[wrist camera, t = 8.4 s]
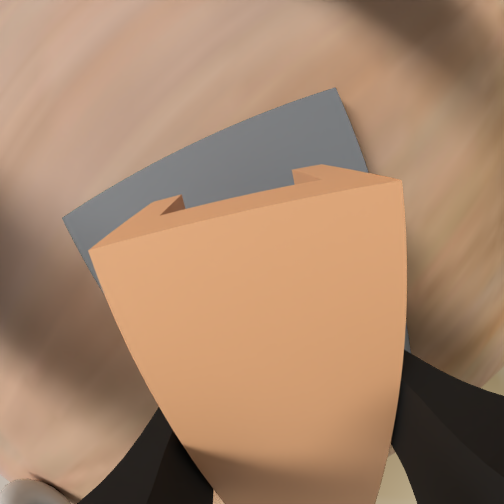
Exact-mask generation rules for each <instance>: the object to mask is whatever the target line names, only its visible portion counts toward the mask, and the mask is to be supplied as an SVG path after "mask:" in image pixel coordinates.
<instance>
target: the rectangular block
mask: <svg viewBox="0 0 504 504" xmlns="http://www.w3.org/2000/svg"><path fill="white" fill-rule="evenodd" d="M292 173H293V179H294V184H295V185H290V186H285V187H280V188H276V189H271V190H266V191H261V192H257V193H252V194H248V195H243V196H239V197H234V198H230V199H225V200H221V201H217V202H213V203H208V204H204V205H200V206H196V207H192V208H188V209H185V205H184V201H183V197H182V194H181V195H177V196H173V197H170V198H166V199H162V200H158V201H155V202H152V203H150V204H149V205H148V206H146V207H145V208H143V209H142V210H141V211H139V212H138V213H137V214H135V215H134V216H132V217H131V218H130V219H128V220H127V221H126V222H124V223H123V224H122V225H120V226H119V227H118V228H116V229H115V230H114V231H112V232H111V233H110V234H108V235H107V236H106V237H104V238H103V239H102V240H101V241H99V242H98V243H97V244H96V245H94V246H93V247H92V248H90V249H89V250H88V252H89V255H90V257H91V260H92V263H93V266H94V269H95V271H96V274H97V277H98V279H99V282H100V284H101V287H102V290H103V292H104V295H105V297H106V299H107V302H108V304H109V307H110V309H111V311H112V314H113V316H114V318H115V321H116V323H117V325H118V327H119V330H120V332H121V334H122V336H123V338H124V341H125V343H126V345H127V347H128V349H129V351H130V353H131V355H132V357H133V359H134V361H135V363H136V365H137V367H138V369H139V371H140V373H141V375H142V377H143V379H144V380H145V382H146V384H147V386H148V388H149V390H150V392H151V393H152V395H153V397H154V399H155V401H156V402H157V404H158V406H159V407H160V409H161V411H162V413H163V414H164V416H165V418H166V419H167V421H168V423H169V424H170V426H171V428H172V429H173V431H174V432H175V434H176V436H177V437H178V439H179V440H180V442H181V443H182V445H183V446H184V448H185V449H186V451H187V452H188V454H189V455H190V457H191V458H192V460H193V461H194V463H195V464H196V466H197V467H198V468H199V470H200V471H201V473H202V474H203V475H204V477H205V478H206V480H207V481H208V482H209V484H210V485H211V486H212V488H213V489H214V490H215V492H216V493H217V494H218V495H219V497H220V498H221V499H222V501H223V502H224V503H225V504H375V502H376V499H377V495H378V492H379V489H380V485H381V481H382V477H383V473H384V469H385V465H386V461H387V457H388V452H389V448H390V443H391V438H392V433H393V428H394V422H395V416H396V410H397V404H398V397H399V390H400V382H401V374H402V365H403V355H404V343H405V328H406V307H407V246H406V225H405V210H404V198H403V187H402V180H399V179H394V178H390V177H385V176H381V175H376V174H371V173H366V172H361V171H356V170H351V169H346V168H340V167H334V166H329V165H323V164H320V165H315V166H309V167H304V168H298V169H293V170H292Z"/></svg>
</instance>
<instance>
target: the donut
mask: <svg viewBox="0 0 504 504" xmlns="http://www.w3.org/2000/svg"><path fill="white" fill-rule="evenodd" d="M0 504H71V503H70V502H69V501H68V500H67V498H66V497H65V496H64V495H62V494H61V493H60V492H59V491H57V490H56V489H55V488H53V487H51V486H49V485H47V484H45V483H43V482H41V481H36V480H31V479H19V480H14V481H12V482H10V483H9V484H7V485H5V487H4V488H3V490H2V491H1V492H0Z"/></svg>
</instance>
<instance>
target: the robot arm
mask: <svg viewBox="0 0 504 504" xmlns="http://www.w3.org/2000/svg"><path fill="white" fill-rule="evenodd" d="M391 445H392V446H393V448H394V450H395V452H396V454H397V455H398V457H399V459H400V461H401V463H402V465H403V467H404V469H405V471H406V474H407V476H408V479H409V481H410V484H411V487H412V489H413V492H414V495H415V498H416V501H417V504H504V396H502V395H499V394H496V393H492V392H489V391H486V390H483V389H481V388H478V387H476V386H473V385H470V384H468V383H466V382H463V381H461V380H459V379H457V378H455V377H452V376H450V375H448V374H446V373H444V372H442V371H440V370H438V369H437V368H435V367H433V366H431V365H430V364H428V363H426V362H424V361H423V360H421V359H419V358H417V357H416V356H414V355H412V354H411V353H409V352H408V351H406V350H404V355H403V365H402V374H401V382H400V390H399V397H398V404H397V410H396V416H395V422H394V428H393V433H392V438H391ZM77 504H213V488H212V486H211V485H210V484H209V482H208V481H207V480H206V478H205V477H204V475H203V474H202V473H201V471H200V470H199V468H198V467H197V466H196V464H195V463H194V461H193V460H192V458H191V457H190V455H189V454H188V452H187V451H186V449H185V448H184V446H183V445H182V443H181V442H180V440H179V439H178V437H177V436H176V434H175V432H174V431H173V429H172V428H171V426H170V424H169V423H168V421H167V419H166V418H165V416H164V414H163V413H162V411H161V409H160V407H159V408H158V409H157V411H156V413H155V414H154V416H153V417H152V419H151V420H150V422H149V423H148V425H147V426H146V428H145V429H144V431H143V432H142V434H141V435H140V437H139V438H138V439H137V441H136V442H135V443H134V445H133V446H132V447H131V449H130V450H129V451H128V453H127V454H126V455H125V457H124V458H123V459H122V460H121V461H120V463H119V464H118V465H117V466H116V467H115V468H114V469H113V471H112V472H111V473H110V474H109V475H108V476H107V477H106V478H105V479H104V480H103V481H102V482H101V483H100V484H99V485H98V486H97V487H96V488H95V489H93V490H92V491H91V492H90V493H89V494H88V495H87V496H85V497H84V498H83V499H82V500H81V501H80V502H79V503H77Z"/></svg>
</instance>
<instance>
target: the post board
mask: <svg viewBox="0 0 504 504" xmlns="http://www.w3.org/2000/svg"><path fill="white" fill-rule="evenodd" d="M320 164H323V165H329V166H334V167H340V168H346V169H351V170H356V171H361V172H366V173H369V172H368V169H367V167H366V164H365V161H364V158H363V155H362V152H361V150H360V147H359V144H358V141H357V139H356V136H355V133H354V131H353V128H352V126H351V123H350V121H349V118H348V116H347V113H346V111H345V108H344V106H343V104H342V101H341V99H340V97H339V94H338V92H337V90H336V88H332V89H329V90H326V91H323V92H320V93H317V94H314V95H311V96H308V97H305V98H302V99H299V100H296V101H294V102H291V103H288V104H285V105H283V106H280V107H277V108H275V109H272V110H269V111H267V112H264V113H262V114H259V115H257V116H254V117H252V118H249V119H247V120H245V121H242V122H240V123H237V124H235V125H233V126H230V127H228V128H226V129H224V130H221V131H219V132H217V133H215V134H212V135H210V136H208V137H206V138H204V139H202V140H199V141H197V142H195V143H193V144H191V145H189V146H187V147H185V148H183V149H181V150H179V151H177V152H175V153H173V154H171V155H169V156H167V157H165V158H163V159H161V160H159V161H157V162H155V163H153V164H151V165H150V166H148V167H146V168H144V169H142V170H140V171H139V172H137V173H135V174H133V175H131V176H130V177H128V178H126V179H124V180H122V181H121V182H119V183H117V184H116V185H114V186H112V187H110V188H109V189H107V190H105V191H104V192H102V193H100V194H99V195H97V196H96V197H94V198H92V199H91V200H89V201H87V202H86V203H84V204H83V205H81V206H80V207H78V208H76V209H75V210H73V211H72V212H70V213H69V214H67V215H66V216H64V217H63V218H62V219H63V221H64V223H65V225H66V227H67V229H68V231H69V233H70V235H71V237H72V239H73V241H74V243H75V245H76V247H77V248H78V250H79V252H80V254H81V256H82V258H83V259H84V261H85V263H86V265H87V267H88V268H89V270H90V272H91V274H92V275H93V277H94V279H95V280H96V282H97V284H98V285H99V287H100V289H101V290H102V287H101V284H100V282H99V279H98V277H97V274H96V271H95V269H94V266H93V263H92V260H91V257H90V255H89V252H88V250H89V249H90V248H92V247H93V246H94V245H96V244H97V243H98V242H99V241H101V240H102V239H103V238H104V237H106V236H107V235H108V234H110V233H111V232H112V231H114V230H115V229H116V228H118V227H119V226H120V225H122V224H123V223H124V222H126V221H127V220H128V219H130V218H131V217H132V216H134V215H135V214H137V213H138V212H139V211H141V210H142V209H143V208H145V207H146V206H148V205H149V204H150V203H152V202H155V201H158V200H162V199H166V198H170V197H173V196H177V195H181V194H182V197H183V201H184V205H185V209H188V208H192V207H196V206H200V205H204V204H208V203H213V202H217V201H221V200H225V199H230V198H234V197H239V196H243V195H248V194H252V193H257V192H261V191H266V190H271V189H276V188H280V187H285V186H290V185H295V184H294V179H293V173H292V170H293V169H298V168H304V167H309V166H315V165H320ZM102 292H103V290H102ZM103 294H104V292H103ZM404 350H406V351H408V352H409V353H411V351H410V344H409V337H408V330H407V324H406V328H405V343H404Z"/></svg>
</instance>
